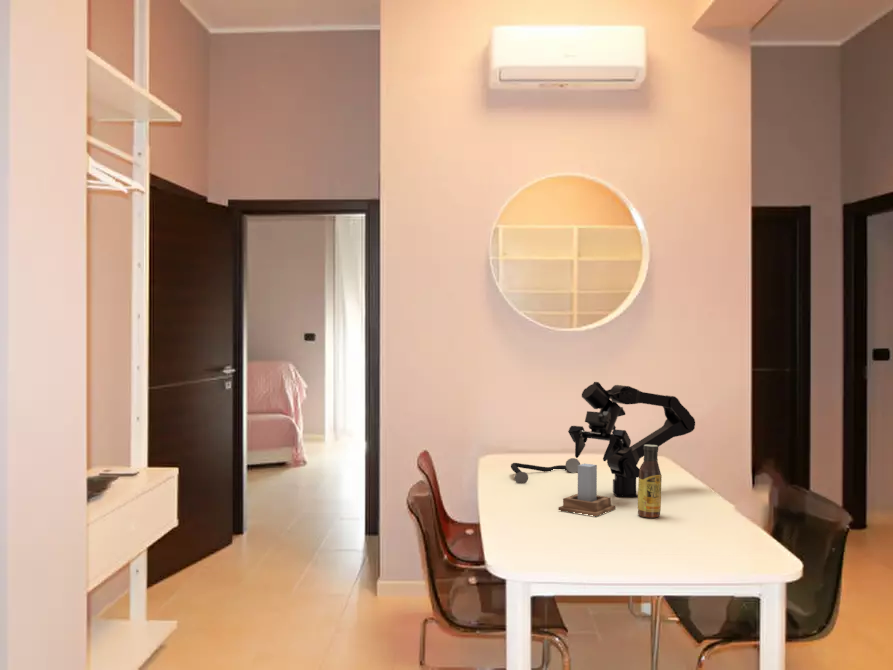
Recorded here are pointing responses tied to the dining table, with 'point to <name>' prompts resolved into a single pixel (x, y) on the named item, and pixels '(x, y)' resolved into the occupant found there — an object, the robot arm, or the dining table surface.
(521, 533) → the dining table surface
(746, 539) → the dining table surface
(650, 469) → the sauce bottle
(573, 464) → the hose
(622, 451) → the robot arm
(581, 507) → the post socket
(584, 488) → the grey square post
